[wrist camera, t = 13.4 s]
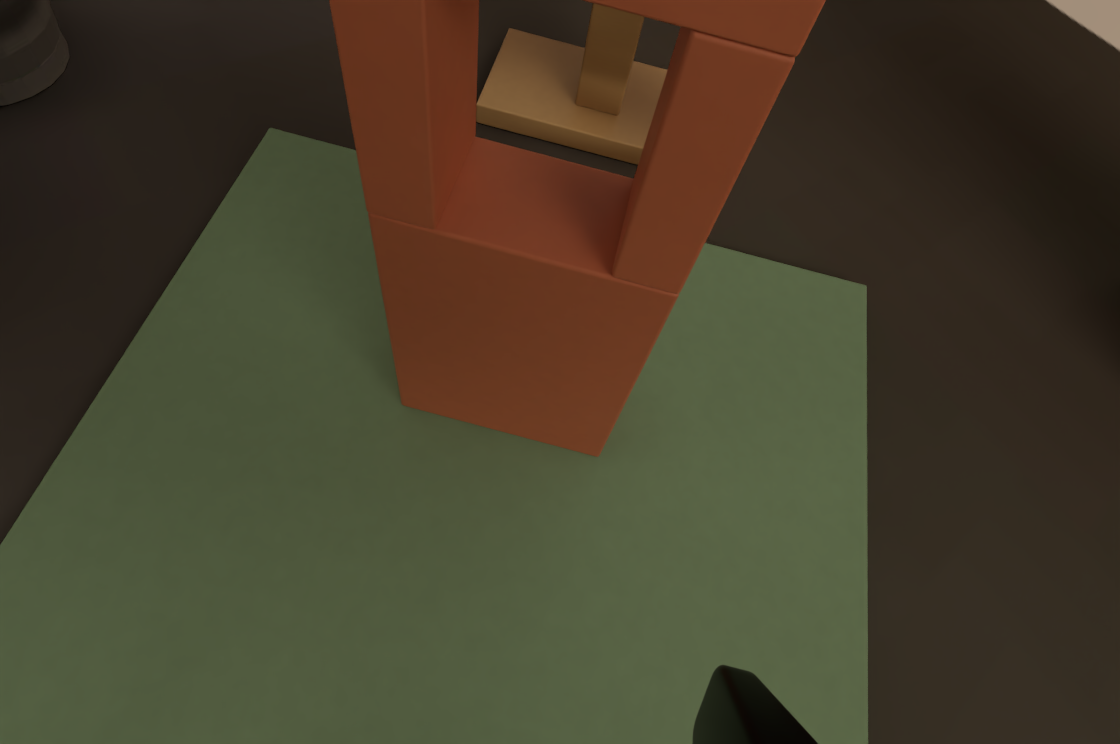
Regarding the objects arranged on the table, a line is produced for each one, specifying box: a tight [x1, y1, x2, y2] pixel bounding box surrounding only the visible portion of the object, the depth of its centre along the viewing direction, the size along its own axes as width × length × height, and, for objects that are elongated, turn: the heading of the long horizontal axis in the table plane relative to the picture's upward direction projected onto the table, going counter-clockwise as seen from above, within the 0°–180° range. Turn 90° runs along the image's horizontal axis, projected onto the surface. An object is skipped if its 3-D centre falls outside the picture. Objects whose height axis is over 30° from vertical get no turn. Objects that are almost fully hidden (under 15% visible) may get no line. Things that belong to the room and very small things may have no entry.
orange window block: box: [329, 0, 826, 457], centre depth 13 cm, size 2×5×13 cm, turn 77°
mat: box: [0, 128, 868, 744], centre depth 18 cm, size 18×20×1 cm
